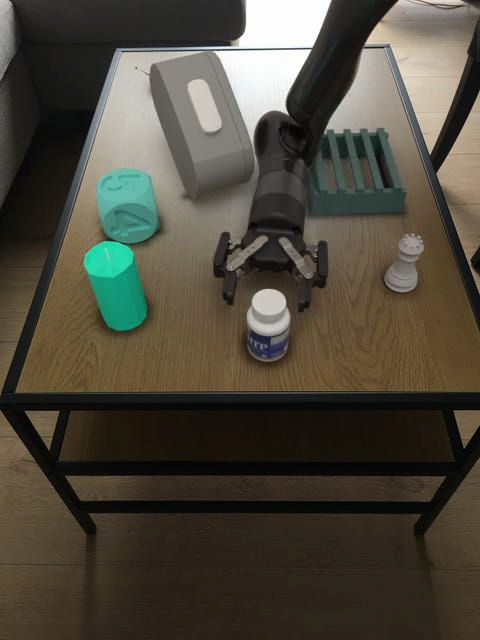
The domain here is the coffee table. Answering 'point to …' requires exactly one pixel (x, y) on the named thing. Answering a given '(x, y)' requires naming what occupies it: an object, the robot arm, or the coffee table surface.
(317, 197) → the rack
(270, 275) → the coffee table surface
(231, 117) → the alarm clock
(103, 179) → the decorative dice
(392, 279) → the rook chess piece
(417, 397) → the coffee table surface
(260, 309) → the pill bottle
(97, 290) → the candle
